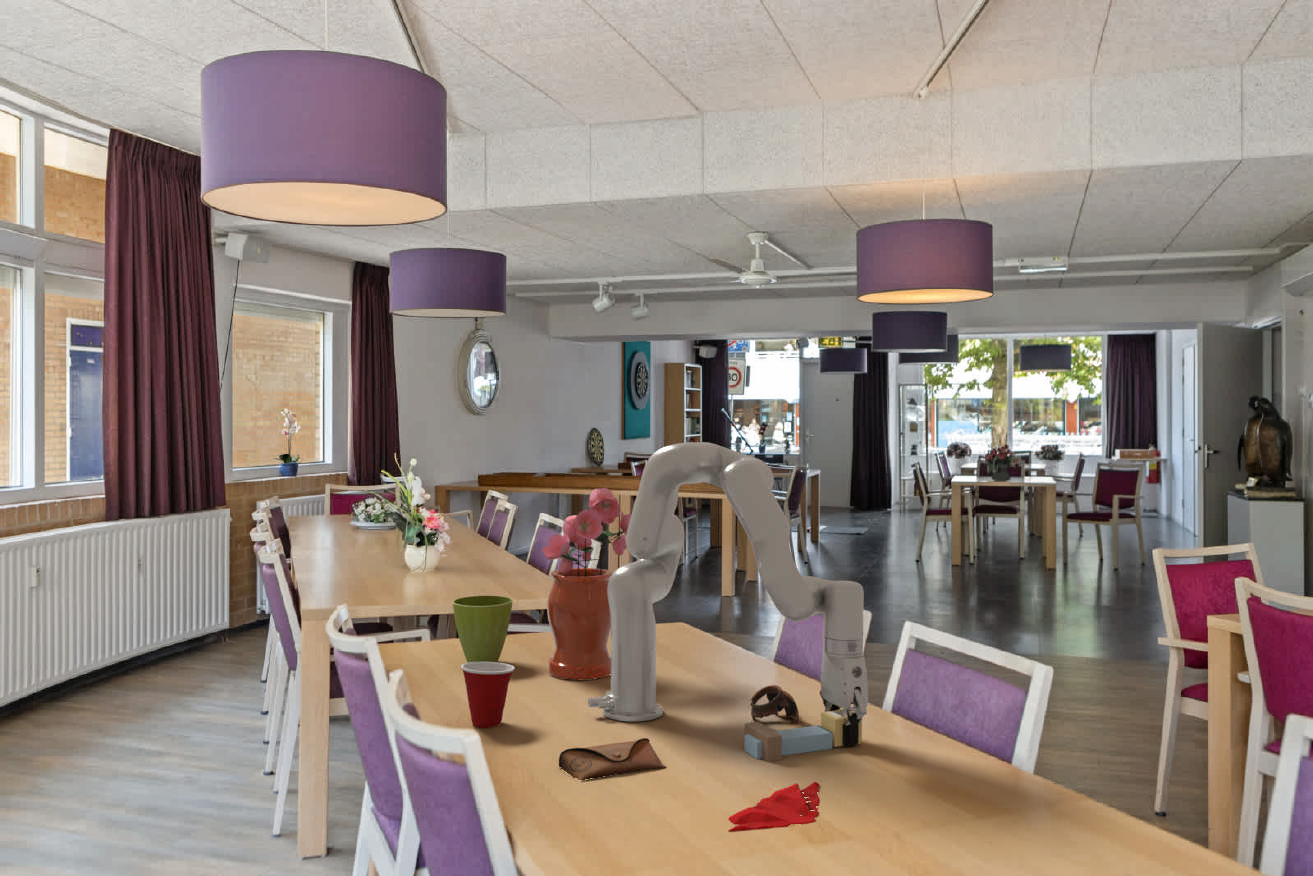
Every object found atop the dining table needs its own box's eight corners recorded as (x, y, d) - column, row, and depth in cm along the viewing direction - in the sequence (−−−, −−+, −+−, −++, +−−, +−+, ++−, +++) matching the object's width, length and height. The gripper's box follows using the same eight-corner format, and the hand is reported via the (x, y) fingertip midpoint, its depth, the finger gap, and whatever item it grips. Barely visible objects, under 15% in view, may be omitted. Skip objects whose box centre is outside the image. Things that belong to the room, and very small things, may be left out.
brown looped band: (805, 730, 203) (788, 697, 201) (763, 748, 204) (745, 716, 202) (800, 699, 214) (783, 668, 212) (760, 716, 216) (743, 685, 214)
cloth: (751, 849, 146) (751, 833, 146) (690, 819, 157) (690, 805, 157) (868, 808, 162) (868, 794, 162) (806, 783, 173) (806, 770, 173)
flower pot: (484, 674, 243) (485, 608, 243) (439, 665, 251) (439, 601, 251) (524, 661, 256) (524, 599, 256) (480, 654, 264) (480, 593, 264)
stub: (834, 746, 190) (835, 719, 190) (820, 739, 194) (821, 711, 194) (861, 743, 192) (862, 715, 192) (847, 735, 197) (847, 708, 197)
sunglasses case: (576, 783, 170) (568, 743, 173) (562, 792, 176) (555, 754, 179) (670, 767, 179) (661, 729, 182) (654, 776, 184) (646, 740, 187)
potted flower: (652, 672, 246) (654, 488, 246) (567, 689, 230) (568, 492, 229) (605, 658, 261) (607, 484, 260) (522, 673, 244) (523, 488, 244)
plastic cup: (525, 723, 204) (525, 664, 204) (482, 735, 196) (482, 674, 196) (492, 712, 211) (492, 655, 211) (449, 723, 203) (449, 664, 203)
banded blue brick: (762, 762, 182) (762, 738, 182) (739, 747, 190) (739, 724, 190) (838, 752, 188) (838, 728, 188) (812, 737, 196) (813, 715, 196)
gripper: (885, 654, 187) (884, 751, 187) (835, 635, 202) (834, 725, 203) (851, 657, 184) (850, 756, 184) (803, 638, 199) (802, 729, 200)
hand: (842, 739), depth 193 cm, fingers closed on stub, 5 cm apart
